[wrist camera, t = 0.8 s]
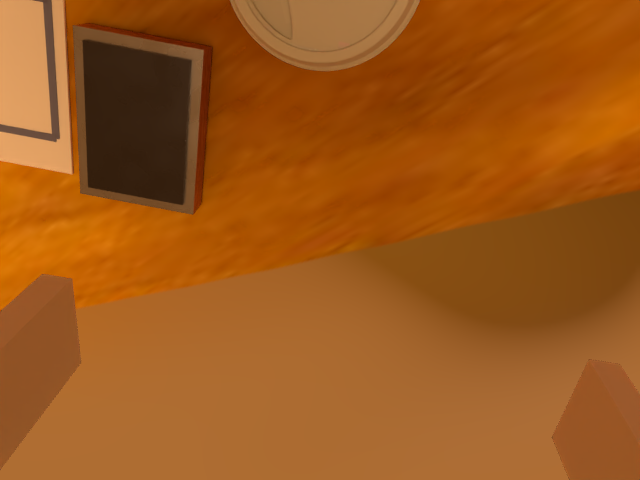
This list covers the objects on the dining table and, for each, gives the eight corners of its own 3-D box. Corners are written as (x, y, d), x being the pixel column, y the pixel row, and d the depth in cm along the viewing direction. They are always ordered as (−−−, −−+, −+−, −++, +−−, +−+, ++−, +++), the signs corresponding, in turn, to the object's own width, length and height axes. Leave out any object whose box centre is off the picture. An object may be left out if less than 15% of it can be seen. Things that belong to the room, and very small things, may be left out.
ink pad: (89, 23, 32) (70, 25, 30) (212, 46, 32) (202, 50, 30) (94, 183, 37) (78, 194, 35) (201, 203, 37) (191, 216, 35)
